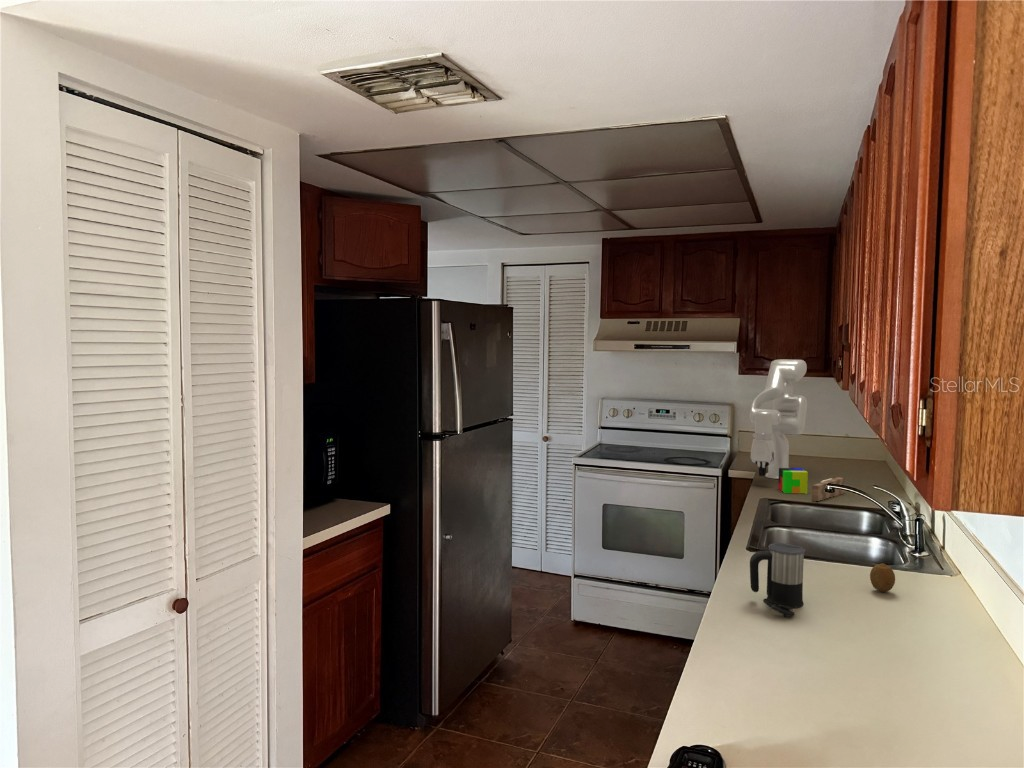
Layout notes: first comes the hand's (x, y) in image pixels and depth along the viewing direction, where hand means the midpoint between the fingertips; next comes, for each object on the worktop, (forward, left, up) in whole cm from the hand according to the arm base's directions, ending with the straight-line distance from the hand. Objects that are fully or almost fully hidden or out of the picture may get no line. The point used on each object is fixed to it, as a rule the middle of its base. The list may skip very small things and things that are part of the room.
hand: (762, 475), depth 337 cm
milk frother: (+137, +80, -6) cm, 159 cm away
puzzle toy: (0, +15, -6) cm, 16 cm away
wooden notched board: (0, +31, -5) cm, 32 cm away
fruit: (+106, +93, -5) cm, 141 cm away
